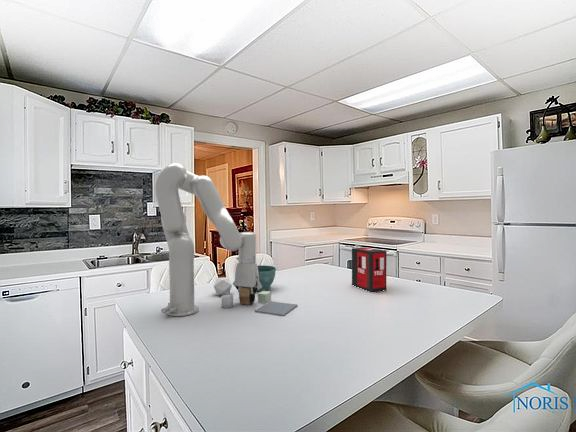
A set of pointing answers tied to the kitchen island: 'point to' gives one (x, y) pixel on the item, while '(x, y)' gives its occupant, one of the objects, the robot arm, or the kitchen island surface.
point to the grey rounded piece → (227, 301)
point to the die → (222, 286)
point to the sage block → (264, 296)
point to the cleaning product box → (369, 269)
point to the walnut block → (245, 295)
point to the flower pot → (266, 276)
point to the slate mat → (276, 308)
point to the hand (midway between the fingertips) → (247, 301)
